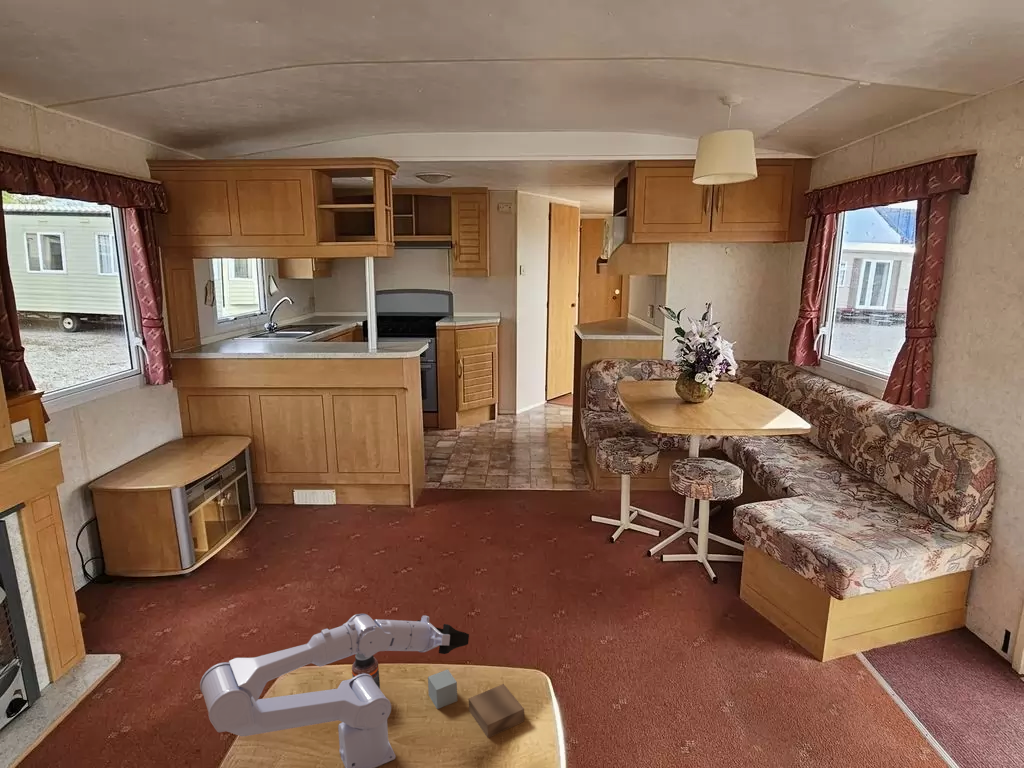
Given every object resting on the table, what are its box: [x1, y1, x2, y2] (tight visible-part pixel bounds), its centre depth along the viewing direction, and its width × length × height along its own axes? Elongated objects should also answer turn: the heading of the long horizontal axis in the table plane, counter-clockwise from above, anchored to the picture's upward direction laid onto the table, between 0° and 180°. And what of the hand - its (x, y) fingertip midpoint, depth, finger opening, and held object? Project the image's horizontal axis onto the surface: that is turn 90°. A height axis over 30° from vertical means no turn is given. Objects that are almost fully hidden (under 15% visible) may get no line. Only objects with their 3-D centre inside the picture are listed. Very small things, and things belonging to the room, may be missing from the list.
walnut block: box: [468, 683, 525, 739], centre depth 129 cm, size 9×9×4 cm
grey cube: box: [427, 669, 458, 710], centre depth 135 cm, size 5×5×5 cm
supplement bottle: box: [351, 653, 381, 690], centre depth 134 cm, size 6×6×11 cm
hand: (456, 637), depth 128 cm, fingers open, 7 cm apart
